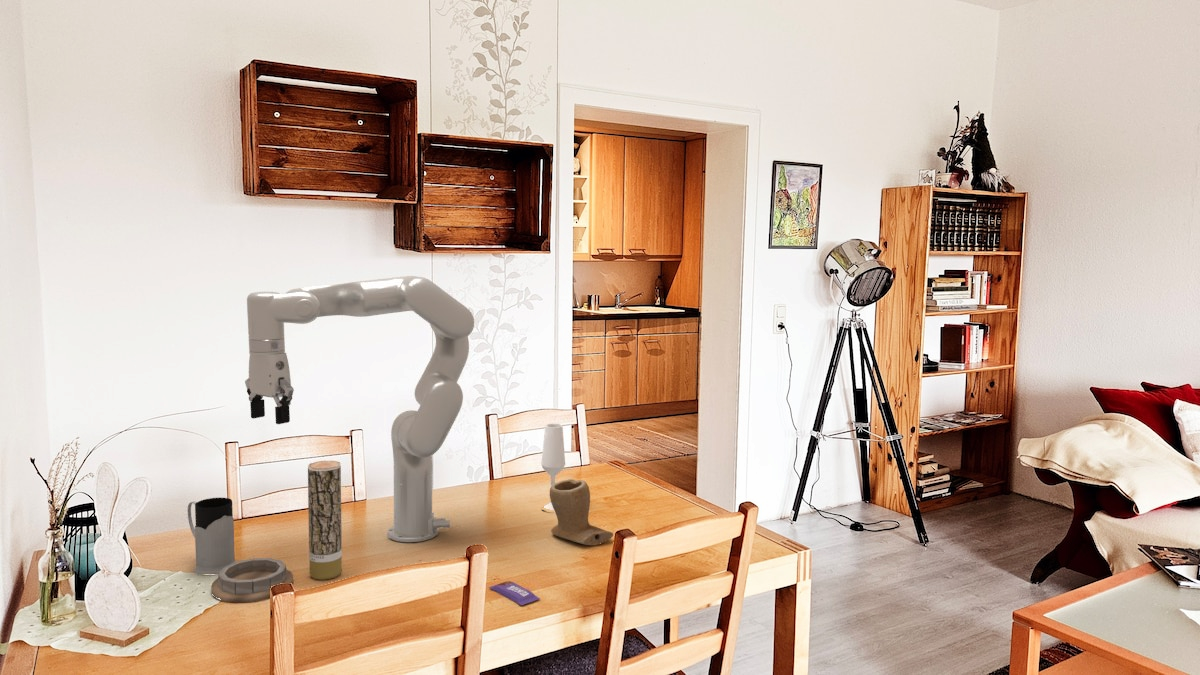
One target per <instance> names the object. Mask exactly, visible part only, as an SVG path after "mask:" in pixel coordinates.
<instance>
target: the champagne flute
mask: <svg viewBox="0 0 1200 675" xmlns="http://www.w3.org/2000/svg"><path fill="white" fill-rule="evenodd" d="M544 427H545V428H544V436H543V445H542V454H541V462H540V464H541V467H542V468H543V470H544V471H545V473H546V474H548V475H549V476H550V487H551V486H552V485H553V484H555V483H556V476H557V475H558V474H560V473H561V472H562V471H563V469H564V468H565V466H566V459H565V457H566V456H565V441H564V430H563V429H564V427H563V424H560V423H547V424H546V425H545V426H544ZM543 506H544V508H546V509H550V510H554V508H553V506H552V503H551V499H550V502H549V503H547V504H545V505H543Z"/></svg>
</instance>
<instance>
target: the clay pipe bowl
mask: <svg viewBox="0 0 1200 675" xmlns="http://www.w3.org/2000/svg"><path fill="white" fill-rule="evenodd" d="M549 499H550V500H551V503H552V506H553V508H554V511H555V513H554V514H555V515H556V518H557V525H555V526H553V527H552V528H551V529H550V533H552V535H554V536H557V537H559V538H562V539H564V540H568V541H571V542H575V543H578V544H581V545H585V546H597V545H596V544H598V545H601V544H604V543H606V542H607V541H609V540H610V539H612V537H614V532H611V531H608V530H605V529H604V528H600V527H597V526H594V525H592V524H590V523H589V522H590V521H589V512H590V507H591V506H590V505H591V491H590V487H589V485H588V483H587V482H586V481H585V480H583V479H579V480H577V479H572V478H569V479H564V480H560V481H558V482H555V484H553V485H552V486H551V485H550V488H549ZM600 543H601V544H600Z"/></svg>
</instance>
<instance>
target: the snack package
mask: <svg viewBox="0 0 1200 675" xmlns="http://www.w3.org/2000/svg"><path fill="white" fill-rule="evenodd" d="M488 588H489V589H491V590H492V591H493V592H496V593H497V594H499V595H501V596H502V597H504V598H506V599H508V600H510V601H511V602H514V603H516V604H517V605H519V604H520V606H524V605H526V604H530V603H532V602H534V601H538V600H541V599H540V597H539V596H537V595H536V594H534V593H533V592H532V591H530V590H529V589H527V588H525V587H523V586H521V585H519V584H518V583H516V582H514V581H511V580H508V581H504V582H501V583H498V584H495V585H492V586H489V587H488Z"/></svg>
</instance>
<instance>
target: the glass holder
mask: <svg viewBox="0 0 1200 675" xmlns="http://www.w3.org/2000/svg"><path fill="white" fill-rule="evenodd" d="M192 505H194V514H195V517H194V518H195V525H194V523H193V518H192ZM233 513H234V512H233V500H232V499H231V498H228V497H210V498H205V499H201V500H199V501H190V502H189V503H188V506H187V519H188V523H189V528H190V530H191V533H192V535H193V536H192V537H194V540H195V541H194V542H195V544H194V545H195V546H194V547H195V566H194V569H193V572H194V573H195V574H196V573H197V574H196V575H199V574H218V573H219V572H220V571H221V570H222V568H224V567H225V566H228V565H230V564H232V563H234V562H237V561H236V558H235V556H236V555H235V526H234V525H235V524H234V523H235V520H234V517H233Z"/></svg>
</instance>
